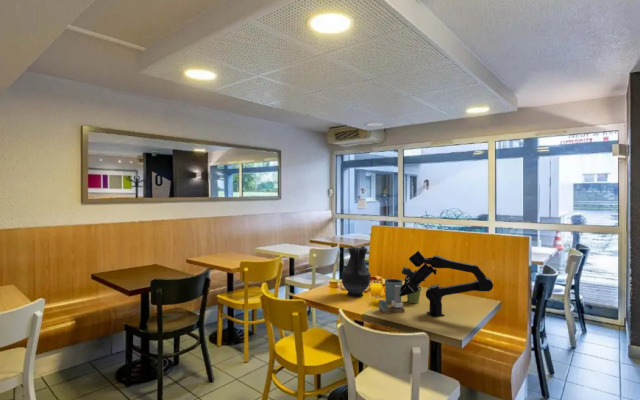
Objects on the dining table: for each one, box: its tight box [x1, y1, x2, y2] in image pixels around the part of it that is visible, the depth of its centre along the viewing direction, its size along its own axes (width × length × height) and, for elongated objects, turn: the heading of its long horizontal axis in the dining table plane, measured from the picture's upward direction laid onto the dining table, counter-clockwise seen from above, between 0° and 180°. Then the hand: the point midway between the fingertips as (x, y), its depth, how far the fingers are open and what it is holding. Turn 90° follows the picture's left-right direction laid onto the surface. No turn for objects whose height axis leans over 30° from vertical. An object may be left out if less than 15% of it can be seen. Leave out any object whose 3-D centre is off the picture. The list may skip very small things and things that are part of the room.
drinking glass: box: [384, 278, 404, 304], centre depth 209 cm, size 10×10×12 cm
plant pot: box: [406, 285, 423, 304], centre depth 209 cm, size 9×9×9 cm
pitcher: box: [341, 246, 371, 298], centre depth 219 cm, size 17×21×30 cm
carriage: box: [391, 285, 404, 308], centre depth 191 cm, size 4×5×10 cm
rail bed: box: [378, 299, 405, 314], centre depth 190 cm, size 12×5×6 cm, turn 105°
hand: (399, 293), depth 191 cm, fingers open, 9 cm apart
